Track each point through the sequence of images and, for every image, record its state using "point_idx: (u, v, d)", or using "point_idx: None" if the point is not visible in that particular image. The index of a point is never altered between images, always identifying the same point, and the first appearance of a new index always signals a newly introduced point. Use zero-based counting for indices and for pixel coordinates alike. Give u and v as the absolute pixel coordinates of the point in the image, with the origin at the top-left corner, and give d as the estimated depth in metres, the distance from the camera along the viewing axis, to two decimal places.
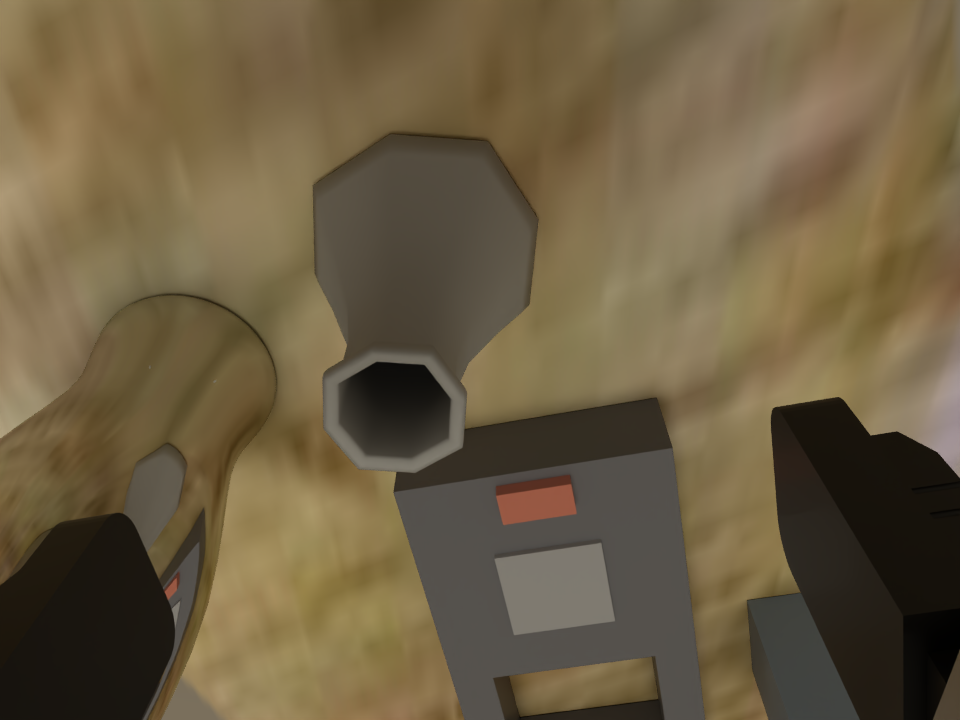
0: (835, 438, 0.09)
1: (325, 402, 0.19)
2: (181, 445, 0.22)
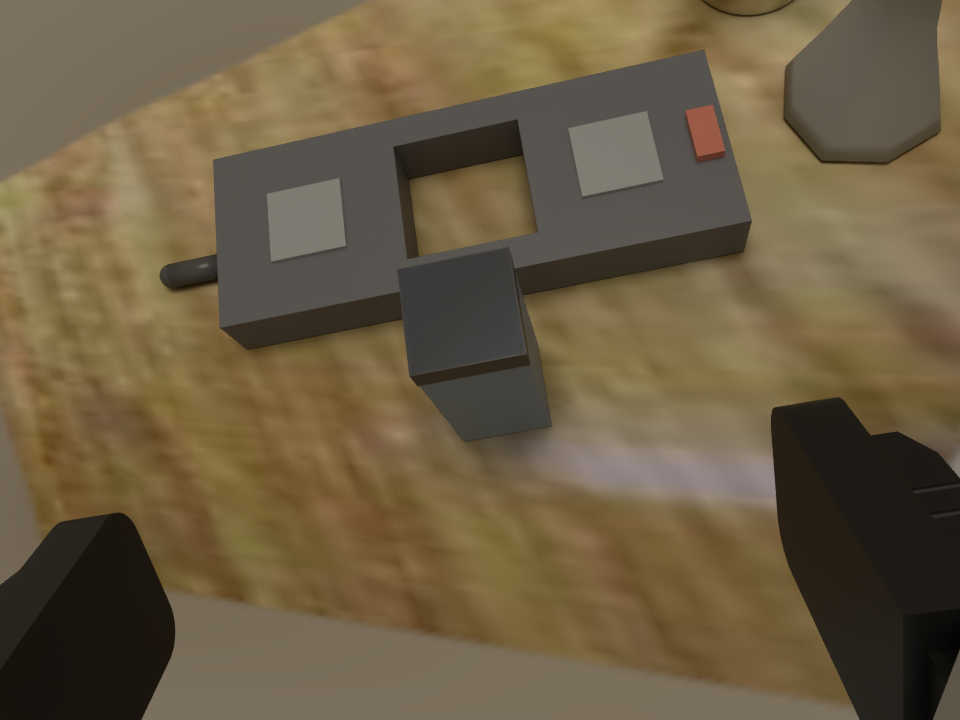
0: (835, 438, 0.09)
1: None
2: None
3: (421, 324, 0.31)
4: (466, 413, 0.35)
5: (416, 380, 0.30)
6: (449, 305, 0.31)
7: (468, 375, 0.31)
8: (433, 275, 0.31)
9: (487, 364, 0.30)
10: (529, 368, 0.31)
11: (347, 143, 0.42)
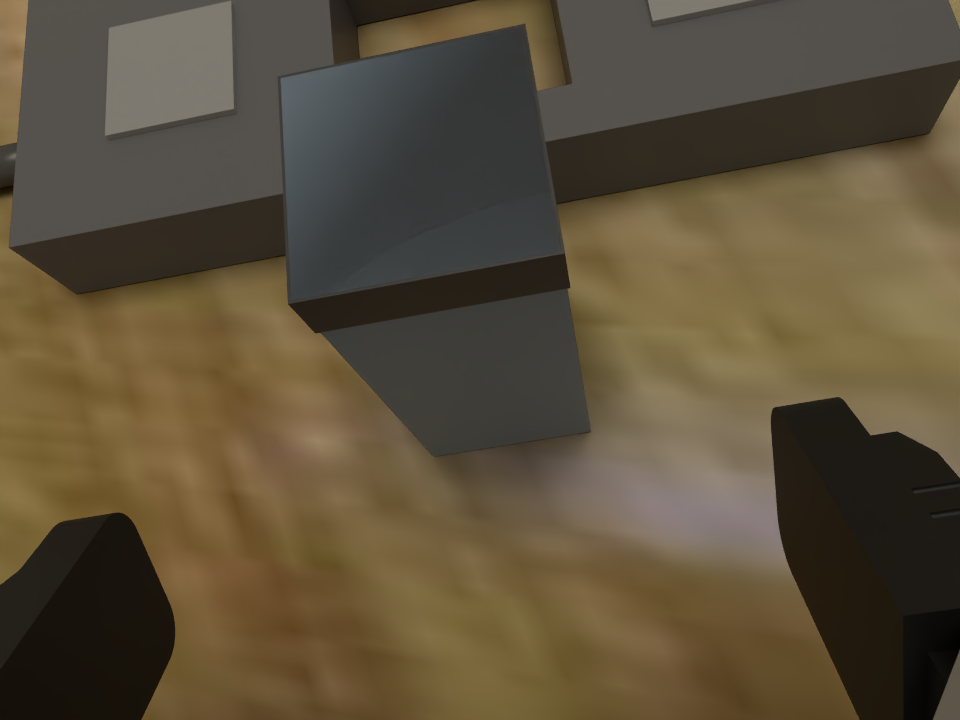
0: (835, 438, 0.09)
1: None
2: None
3: (322, 188, 0.13)
4: (433, 401, 0.18)
5: (308, 317, 0.13)
6: (387, 147, 0.13)
7: (427, 308, 0.14)
8: (355, 86, 0.14)
9: (470, 281, 0.13)
10: (565, 298, 0.14)
11: None
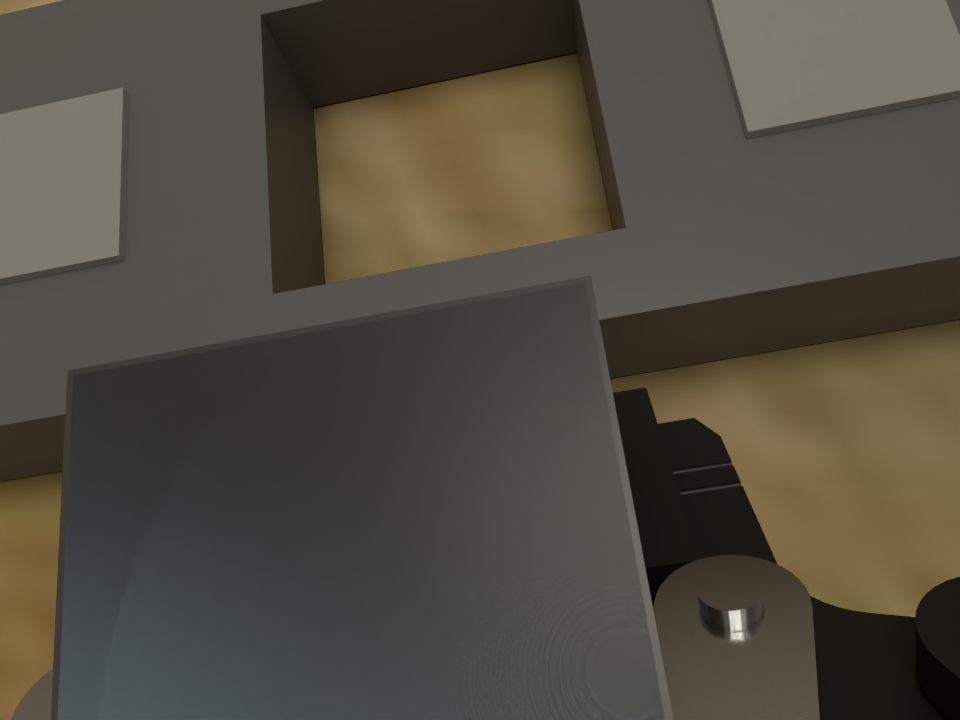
0: (627, 423, 0.10)
1: None
2: None
3: (138, 668, 0.06)
4: None
5: None
6: (285, 570, 0.06)
7: None
8: (225, 407, 0.06)
9: None
10: None
11: (154, 8, 0.17)
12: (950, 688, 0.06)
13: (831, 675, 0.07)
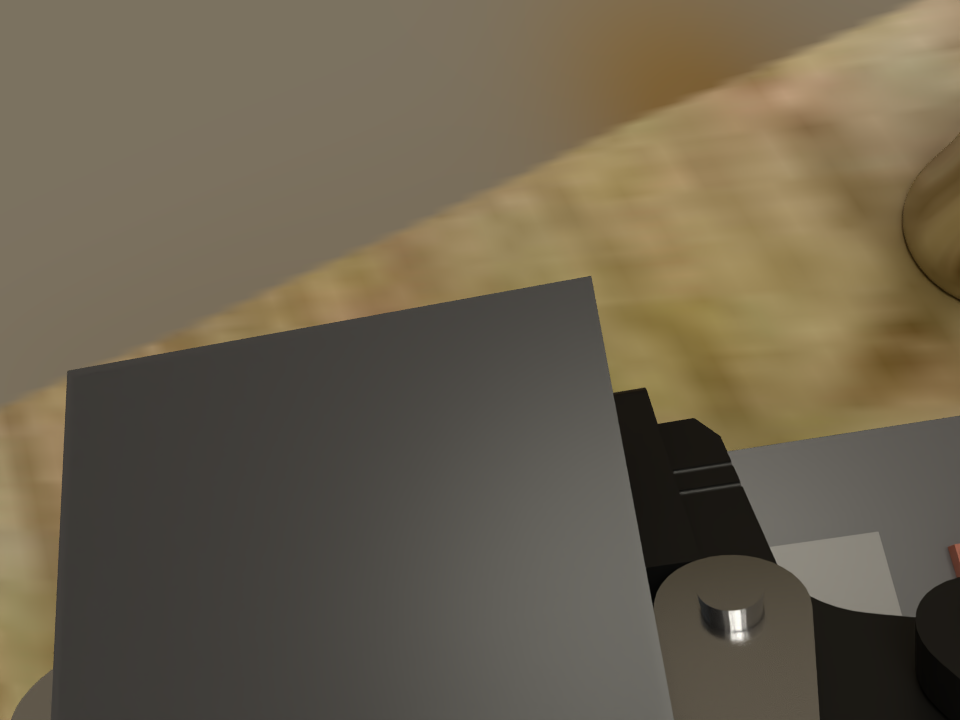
0: (627, 423, 0.10)
1: None
2: None
3: (138, 669, 0.06)
4: None
5: None
6: (285, 571, 0.06)
7: None
8: (225, 407, 0.06)
9: None
10: None
11: None
12: (950, 688, 0.06)
13: (831, 675, 0.07)
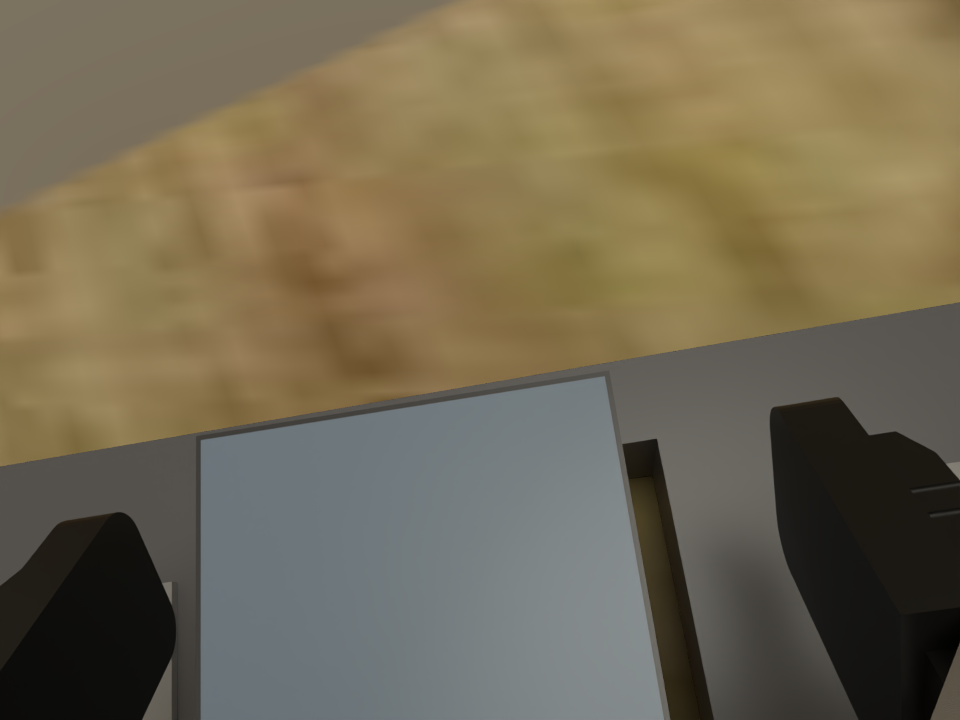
0: (834, 438, 0.09)
1: None
2: None
3: (262, 671, 0.08)
4: None
5: None
6: (375, 597, 0.08)
7: None
8: (323, 468, 0.08)
9: None
10: None
11: None
12: None
13: None
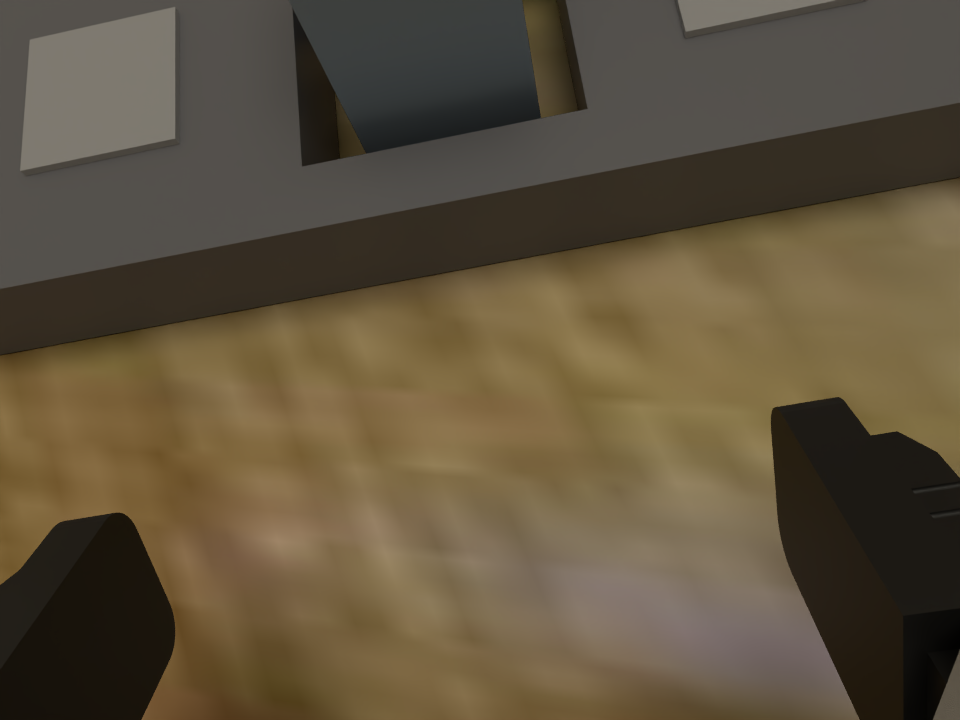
0: (835, 438, 0.09)
1: None
2: None
3: None
4: (373, 69, 0.17)
5: None
6: None
7: None
8: None
9: None
10: None
11: None
12: None
13: None
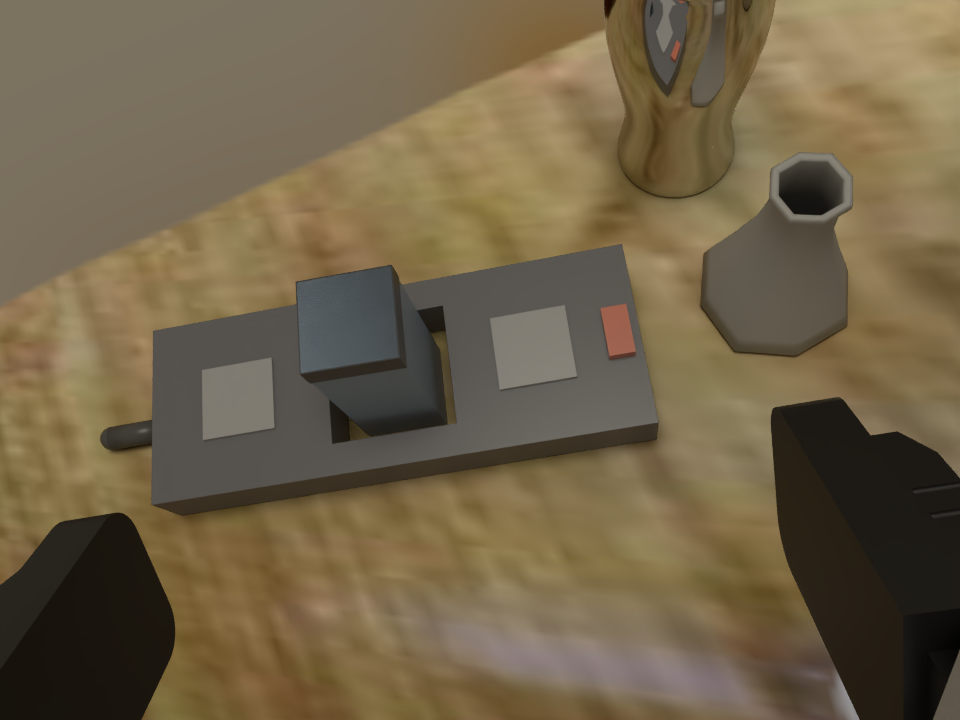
0: (835, 438, 0.09)
1: (816, 153, 0.34)
2: (729, 103, 0.39)
3: (312, 329, 0.35)
4: (363, 409, 0.40)
5: (307, 378, 0.35)
6: (337, 314, 0.35)
7: (352, 375, 0.35)
8: (326, 287, 0.36)
9: (367, 366, 0.35)
10: (407, 370, 0.36)
11: (281, 321, 0.44)
12: None
13: None
